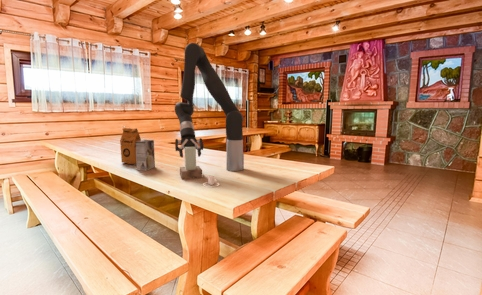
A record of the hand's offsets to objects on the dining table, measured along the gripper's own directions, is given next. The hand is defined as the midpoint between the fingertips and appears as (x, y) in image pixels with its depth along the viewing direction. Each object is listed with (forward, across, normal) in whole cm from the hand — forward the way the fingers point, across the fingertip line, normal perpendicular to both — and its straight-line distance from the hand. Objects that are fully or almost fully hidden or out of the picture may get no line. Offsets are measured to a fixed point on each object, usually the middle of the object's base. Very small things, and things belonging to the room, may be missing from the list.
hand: (190, 156), depth 133 cm
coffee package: (-22, -30, +38) cm, 53 cm away
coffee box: (-10, -22, +26) cm, 35 cm away
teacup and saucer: (+19, +10, -3) cm, 22 cm away
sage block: (+4, 0, +6) cm, 7 cm away
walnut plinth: (+7, 0, +8) cm, 11 cm away
